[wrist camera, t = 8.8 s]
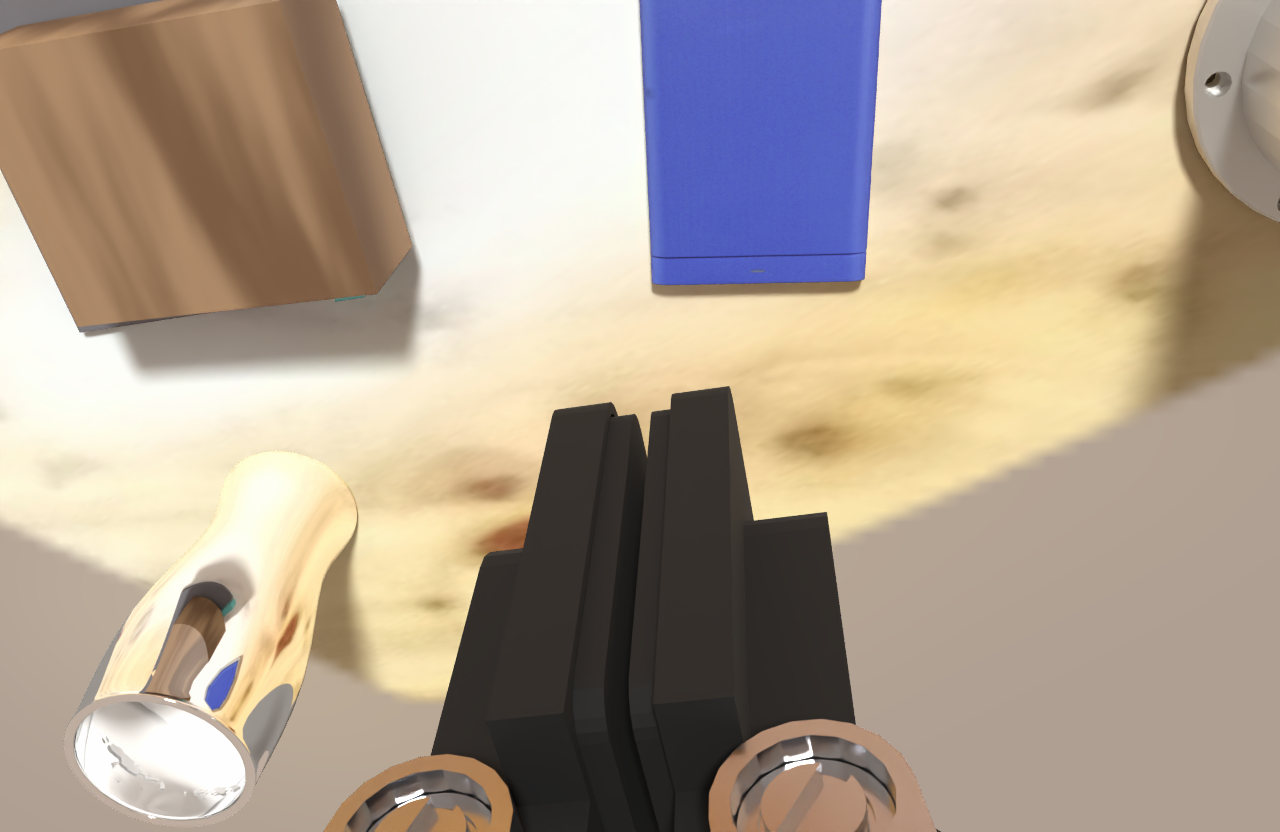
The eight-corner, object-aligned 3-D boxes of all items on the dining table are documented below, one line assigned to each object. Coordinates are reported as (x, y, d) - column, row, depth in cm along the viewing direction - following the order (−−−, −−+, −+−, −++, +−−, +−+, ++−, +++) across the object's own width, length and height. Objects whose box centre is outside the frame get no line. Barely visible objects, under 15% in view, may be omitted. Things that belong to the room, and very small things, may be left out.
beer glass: (217, 554, 55) (68, 818, 42) (209, 430, 51) (44, 677, 39) (366, 575, 55) (263, 844, 43) (369, 453, 52) (257, 707, 39)
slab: (278, 0, 36) (-54, 58, 39) (377, 293, 41) (77, 327, 44) (326, -29, 39) (18, 25, 42) (412, 245, 44) (132, 279, 47)
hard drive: (636, -55, 39) (651, 286, 46) (887, -65, 38) (866, 282, 45) (638, -64, 40) (653, 269, 47) (881, -73, 40) (861, 265, 46)
